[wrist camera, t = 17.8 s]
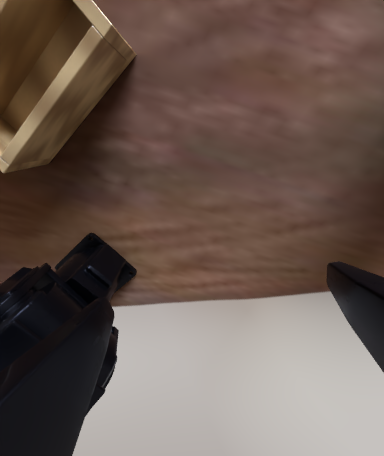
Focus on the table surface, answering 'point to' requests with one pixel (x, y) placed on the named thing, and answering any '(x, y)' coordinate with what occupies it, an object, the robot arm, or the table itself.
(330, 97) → the table surface
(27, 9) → the caddy
